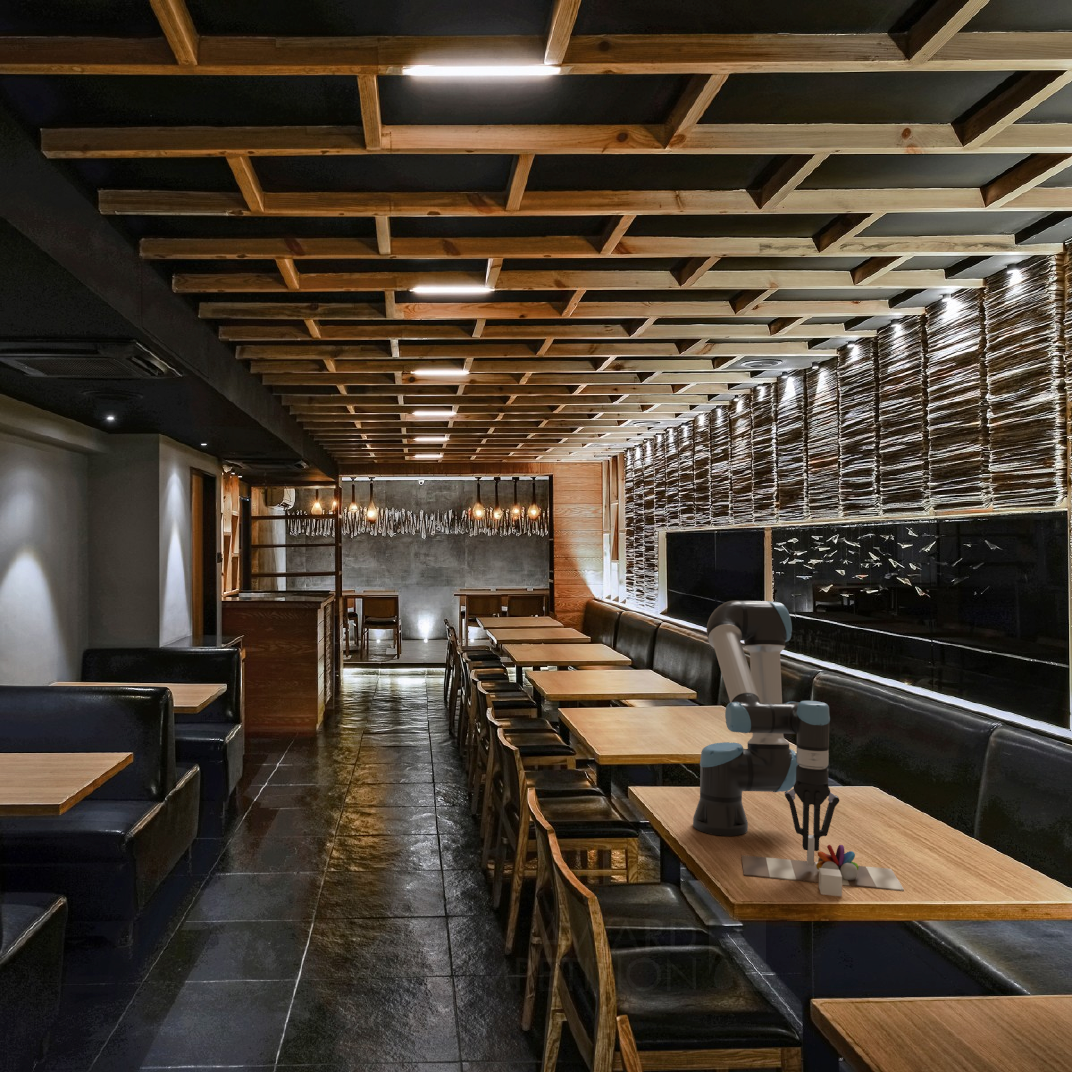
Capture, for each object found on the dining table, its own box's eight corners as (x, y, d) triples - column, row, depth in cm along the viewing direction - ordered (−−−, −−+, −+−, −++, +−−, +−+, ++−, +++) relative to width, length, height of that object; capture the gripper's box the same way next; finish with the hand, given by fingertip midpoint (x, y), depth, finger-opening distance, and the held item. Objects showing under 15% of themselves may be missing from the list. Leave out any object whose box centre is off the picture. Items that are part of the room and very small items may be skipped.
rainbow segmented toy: (813, 867, 210) (813, 837, 210) (854, 870, 208) (854, 840, 208) (819, 880, 201) (819, 848, 202) (862, 883, 200) (862, 852, 200)
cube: (820, 894, 193) (821, 874, 194) (818, 887, 198) (819, 867, 198) (841, 896, 192) (842, 876, 193) (839, 889, 197) (839, 869, 197)
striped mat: (743, 875, 204) (743, 874, 204) (741, 856, 218) (741, 855, 218) (904, 890, 197) (904, 889, 197) (891, 870, 210) (891, 868, 210)
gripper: (785, 767, 206) (783, 866, 205) (842, 771, 203) (840, 871, 202) (783, 760, 213) (781, 856, 212) (838, 764, 211) (836, 861, 210)
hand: (810, 863), depth 207 cm, fingers closed
